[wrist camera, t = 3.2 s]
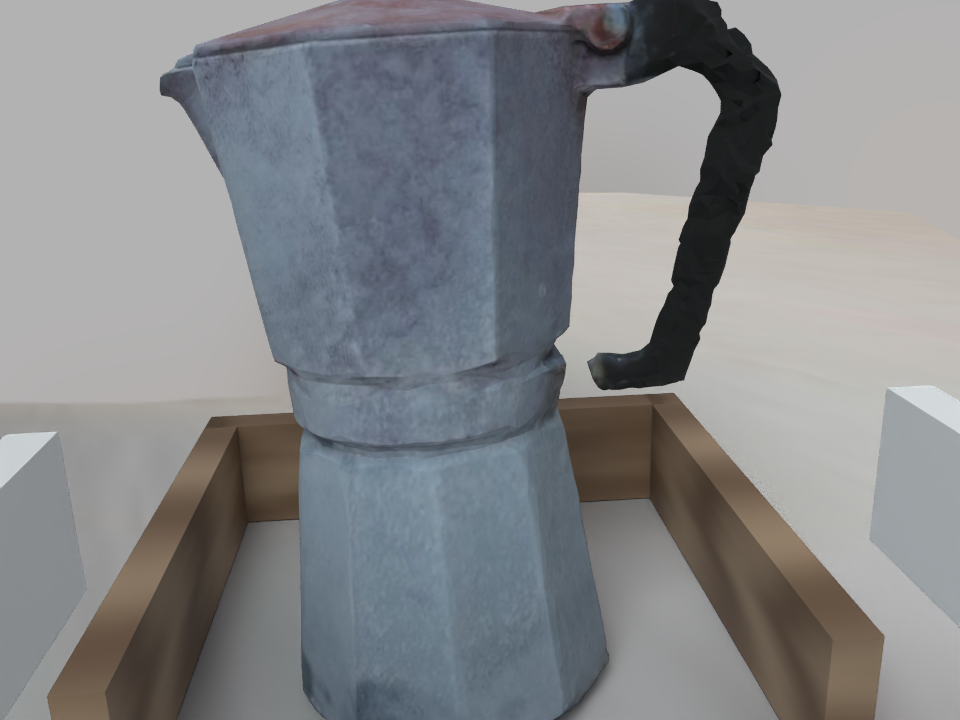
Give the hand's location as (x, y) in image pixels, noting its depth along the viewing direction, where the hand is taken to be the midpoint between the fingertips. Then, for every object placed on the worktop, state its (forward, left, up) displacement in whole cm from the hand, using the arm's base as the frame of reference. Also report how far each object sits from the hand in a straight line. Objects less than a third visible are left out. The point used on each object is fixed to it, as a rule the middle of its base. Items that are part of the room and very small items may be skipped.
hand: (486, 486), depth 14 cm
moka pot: (-9, +4, -10) cm, 14 cm away
